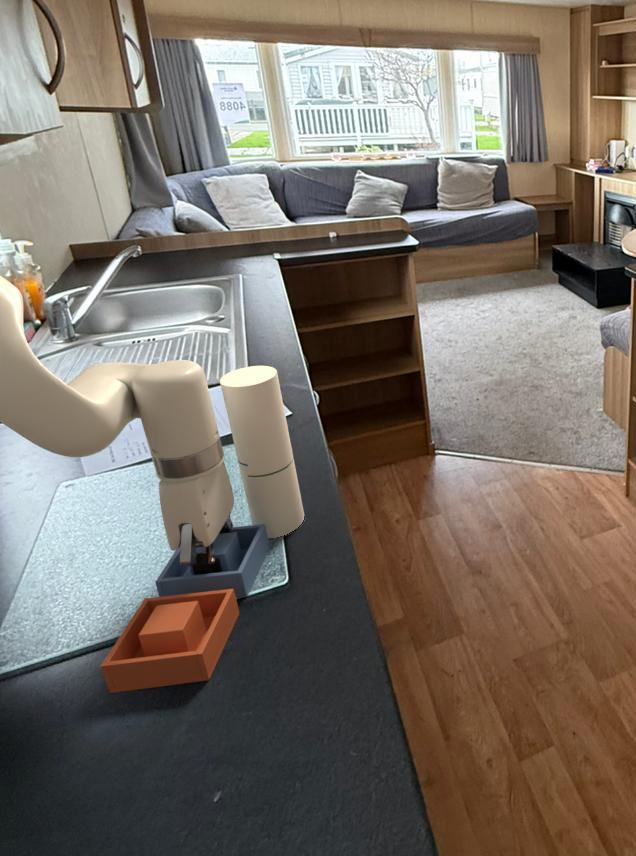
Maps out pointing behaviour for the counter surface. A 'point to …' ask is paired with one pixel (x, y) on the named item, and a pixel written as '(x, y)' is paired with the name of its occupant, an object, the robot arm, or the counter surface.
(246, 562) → the slate bin
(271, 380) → the cylindrical container
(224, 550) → the slate block
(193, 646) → the terracotta block
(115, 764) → the counter surface
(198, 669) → the terracotta bin
